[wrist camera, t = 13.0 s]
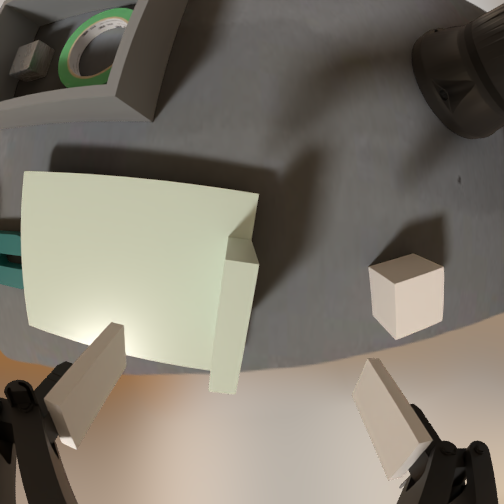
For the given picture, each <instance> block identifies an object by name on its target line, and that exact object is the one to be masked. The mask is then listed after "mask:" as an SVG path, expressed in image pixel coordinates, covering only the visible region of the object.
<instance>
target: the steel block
mask: <svg viewBox="0 0 504 504" xmlns="http://www.w3.org/2000/svg"><path fill="white" fill-rule="evenodd" d="M54 52H55V50H54V49H53V48H51V47H49V46H48V45H46V44H45V43H43V42H42V41H40V40H37V41H34V42H32V43H29V44H26V45H24V46H21V47H19V48H18V51H17V53H16V56H15V59H14V61H13V64H12V67H11V70H10V73H9V75H10V76H13V77H15V78H18V79H20V80H23V81H25V82H28V81H31V80H35V79H39V78H43V77H46V75H47V72H48V69H49V66H50V63H51V60H52V57H53V54H54Z"/></svg>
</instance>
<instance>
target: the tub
mask: <svg viewBox="0 0 504 504" xmlns="http://www.w3.org/2000/svg"><path fill="white" fill-rule="evenodd" d="M187 3H188V0H6V1H4V3H3V5H2V6H1V8H0V129H1V130H3V129H10V128H17V127H24V126H33V125H43V124H54V123H69V122H96V121H128V122H153V118H154V113H155V109H156V105H157V100H158V96H159V92H160V88H161V84H162V80H163V77H164V73H165V69H166V66H167V62H168V59H169V55H170V52H171V49H172V46H173V42H174V39H175V36H176V33H177V30H178V27H179V24H180V22H181V19H182V16H183V13H184V11H185V8H186V5H187ZM133 4H136V5H135V8H134V10H133V12H132V14H131V17H130V19H129V21H128V24H127V26H126V29H125V31H124V34H123V36H122V39H121V42H120V44H119V47H118V50H117V53H116V56H115V59H114V62H113V65H112V68H111V71H110V74H109V78H108V81H107V84H104V85H92V86H82V87H73V88H66V89H59V90H52V91H46V92H41V93H35V94H31V95H26V96H21V97H17V98H13V97H14V93H15V90H16V87H17V83H18V80H19V79H18V78H15V77H13V76H10V75H9V73H10V70H11V67H12V64H13V61H14V59H15V56H16V53H17V51H18V48H19V47H21V46H24V45H26V44H29V43H32V42H33V40H34V38H35V36H36V33H37V31H38V29H39V27H40V26H43V25H46V24H49V23H52V22H55V21H58V20H62V19H65V18H69V17H72V16H76V15H80V14H84V13H88V12H93V11H97V10H102V9H107V8H113V7H119V6H126V5H133Z"/></svg>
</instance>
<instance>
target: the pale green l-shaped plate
mask: <svg viewBox="0 0 504 504" xmlns="http://www.w3.org/2000/svg"><path fill="white" fill-rule="evenodd" d="M258 197H259V194H256V193H250V192H244V191H237V190H231V189H224V188H217V187H210V186H203V185H195V184H187V183H179V182H171V181H162V180H153V179H143V178H133V177H122V176H110V175H96V174H81V173H62V172H35V171H24V179H23V190H22V206H21V258H22V273H23V284H24V293H25V301H26V309H27V315H28V321H29V325H30V326H33V327H35V328H38V329H41V330H44V331H47V332H49V333H52V334H55V335H58V336H61V337H64V338H67V339H71V340H74V341H77V342H80V343H84V344H87V345H91V343H92V342H93V341H94V340H95V339H96V338H97V337H98V336H99V335H100V334H101V333H102V332H103V330H104V329H105V328H106V327H107V326H108V325H109V324H110V323H111V322H114V323H117V324H121V325H124V335H125V353H126V355H129V356H134V357H138V358H143V359H147V360H152V361H157V362H162V363H167V364H173V365H179V366H185V367H191V368H197V369H204V370H211V371H210V381H209V389H208V390H209V391H211V392H218V393H227V394H236V389H237V384H238V379H239V374H240V368H241V363H242V357H243V352H244V347H245V341H246V336H247V330H248V325H249V319H250V314H251V308H252V303H253V297H254V291H255V286H256V280H257V275H258V269H259V262H258V259H257V256H256V253H255V250H254V247H253V244H252V241H251V239H252V233H253V227H254V221H255V215H256V209H257V203H258Z"/></svg>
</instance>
